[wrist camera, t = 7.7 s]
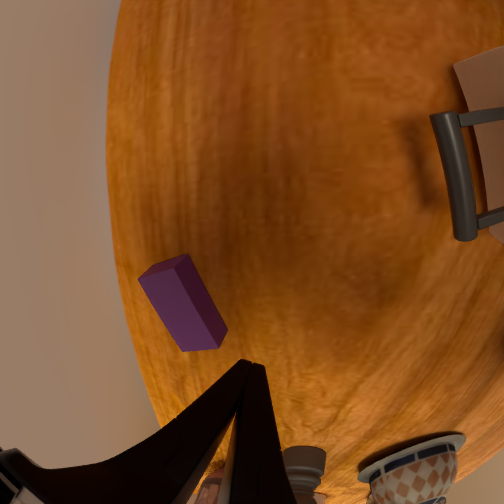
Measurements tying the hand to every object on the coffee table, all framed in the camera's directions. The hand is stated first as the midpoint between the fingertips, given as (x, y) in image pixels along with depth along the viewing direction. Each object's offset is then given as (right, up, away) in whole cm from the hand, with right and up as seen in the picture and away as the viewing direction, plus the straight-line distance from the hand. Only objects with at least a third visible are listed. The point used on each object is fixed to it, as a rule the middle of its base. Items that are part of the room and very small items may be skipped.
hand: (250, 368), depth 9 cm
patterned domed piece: (+25, -28, +19) cm, 43 cm away
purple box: (-5, 0, +14) cm, 15 cm away
